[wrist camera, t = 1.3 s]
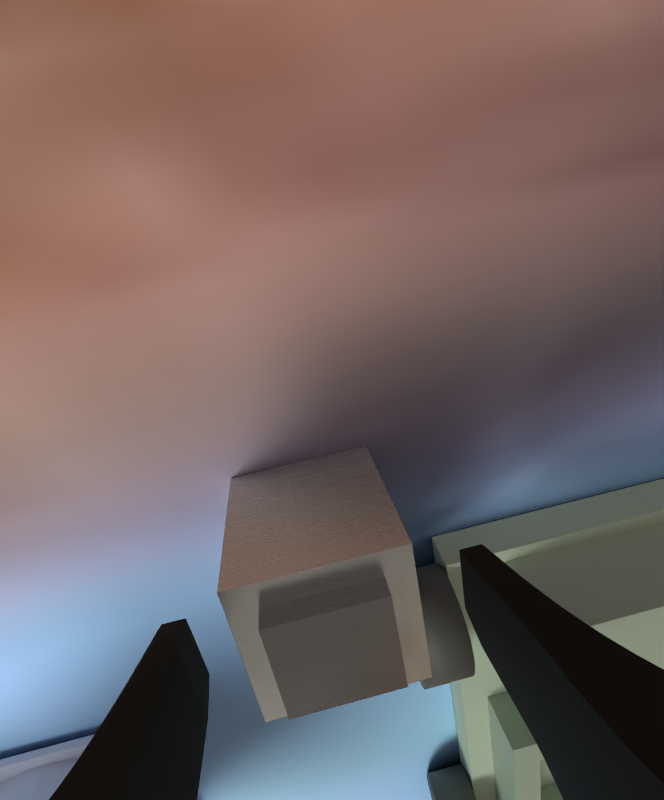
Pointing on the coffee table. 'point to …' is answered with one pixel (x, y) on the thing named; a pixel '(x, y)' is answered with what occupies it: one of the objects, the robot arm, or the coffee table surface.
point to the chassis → (570, 588)
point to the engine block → (321, 585)
